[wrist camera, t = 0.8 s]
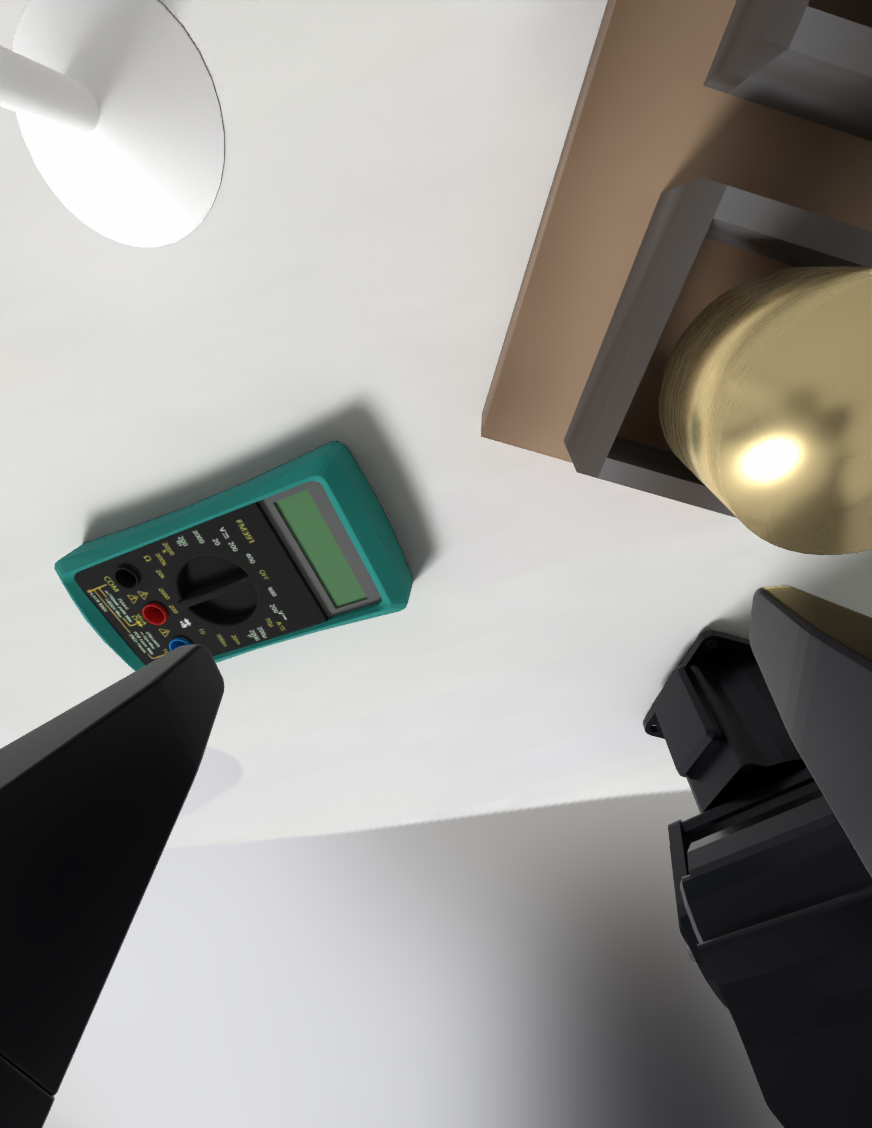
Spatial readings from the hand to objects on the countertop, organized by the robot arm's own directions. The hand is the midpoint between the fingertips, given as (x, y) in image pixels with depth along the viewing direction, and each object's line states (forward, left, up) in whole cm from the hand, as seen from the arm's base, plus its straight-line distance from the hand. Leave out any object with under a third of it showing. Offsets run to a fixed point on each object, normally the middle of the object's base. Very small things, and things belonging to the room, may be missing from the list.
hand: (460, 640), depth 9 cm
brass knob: (-6, -5, -7) cm, 10 cm away
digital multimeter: (+8, +9, -14) cm, 18 cm away
